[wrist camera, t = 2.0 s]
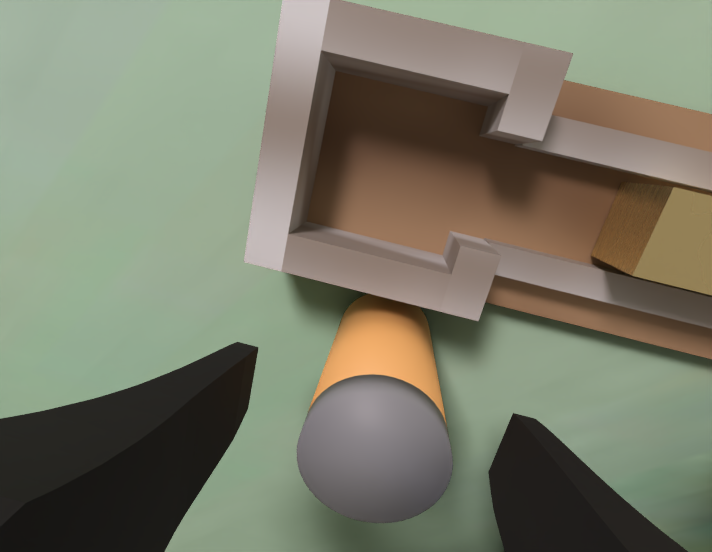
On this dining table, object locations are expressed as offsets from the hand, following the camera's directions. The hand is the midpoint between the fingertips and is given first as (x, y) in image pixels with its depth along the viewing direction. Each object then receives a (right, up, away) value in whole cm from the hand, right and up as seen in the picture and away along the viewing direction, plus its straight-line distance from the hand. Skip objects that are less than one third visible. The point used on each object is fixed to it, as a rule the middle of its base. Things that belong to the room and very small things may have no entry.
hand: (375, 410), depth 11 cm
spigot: (+1, +1, +5) cm, 5 cm away
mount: (+7, +6, +3) cm, 10 cm away
